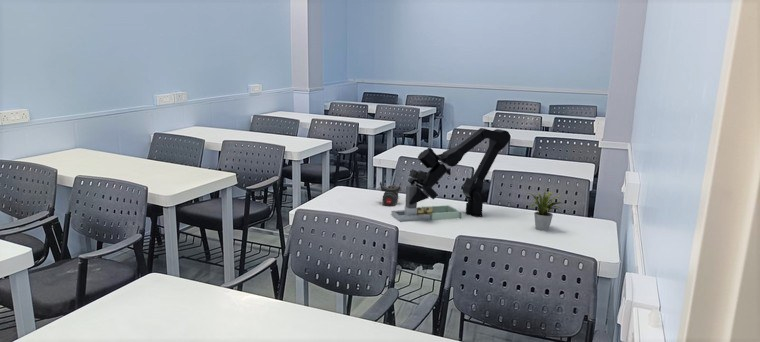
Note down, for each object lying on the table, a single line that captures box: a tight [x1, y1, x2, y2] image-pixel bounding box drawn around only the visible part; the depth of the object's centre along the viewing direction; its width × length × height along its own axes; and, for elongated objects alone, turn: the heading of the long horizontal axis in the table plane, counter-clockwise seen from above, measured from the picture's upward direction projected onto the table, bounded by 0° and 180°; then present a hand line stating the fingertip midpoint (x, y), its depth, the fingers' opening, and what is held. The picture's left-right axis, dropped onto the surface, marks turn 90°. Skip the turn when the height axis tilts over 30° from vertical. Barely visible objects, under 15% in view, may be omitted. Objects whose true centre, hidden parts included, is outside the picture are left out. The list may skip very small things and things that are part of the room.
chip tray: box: [420, 204, 462, 221], centre depth 228 cm, size 13×12×3 cm
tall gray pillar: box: [403, 184, 418, 215], centre depth 223 cm, size 4×4×13 cm
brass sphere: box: [417, 206, 424, 214], centre depth 225 cm, size 4×4×4 cm
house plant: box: [527, 188, 563, 231], centre depth 213 cm, size 14×14×16 cm
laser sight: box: [379, 181, 402, 207], centre depth 251 cm, size 10×22×10 cm, turn 174°
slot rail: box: [390, 209, 458, 223], centre depth 226 cm, size 27×12×2 cm, turn 108°
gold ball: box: [424, 207, 434, 214], centre depth 227 cm, size 4×4×4 cm
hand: (408, 202), depth 223 cm, fingers closed on tall gray pillar, 4 cm apart
